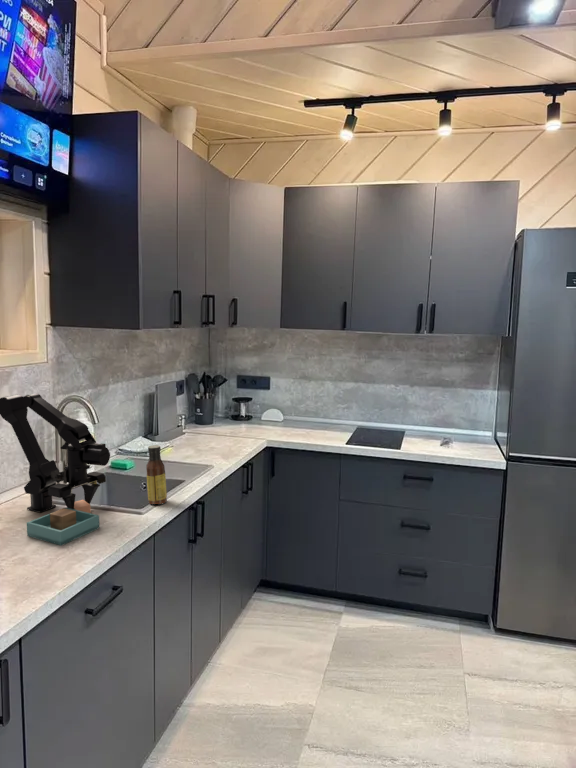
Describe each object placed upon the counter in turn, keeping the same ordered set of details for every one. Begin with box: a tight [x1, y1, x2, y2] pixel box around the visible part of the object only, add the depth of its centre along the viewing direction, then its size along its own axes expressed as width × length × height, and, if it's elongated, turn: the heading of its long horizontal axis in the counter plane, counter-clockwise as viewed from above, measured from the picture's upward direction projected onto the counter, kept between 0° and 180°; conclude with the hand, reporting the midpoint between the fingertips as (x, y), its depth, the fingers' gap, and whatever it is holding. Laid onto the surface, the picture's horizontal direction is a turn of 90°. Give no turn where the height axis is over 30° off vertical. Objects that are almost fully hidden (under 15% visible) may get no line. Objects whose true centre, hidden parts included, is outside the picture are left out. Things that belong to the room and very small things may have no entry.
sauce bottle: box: [145, 444, 168, 505], centre depth 183 cm, size 7×6×20 cm
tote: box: [26, 506, 100, 546], centre depth 159 cm, size 14×14×4 cm
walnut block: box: [49, 507, 76, 530], centre depth 159 cm, size 5×5×5 cm
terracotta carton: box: [74, 499, 92, 514], centre depth 174 cm, size 6×5×3 cm
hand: (79, 509), depth 174 cm, fingers closed on terracotta carton, 6 cm apart
